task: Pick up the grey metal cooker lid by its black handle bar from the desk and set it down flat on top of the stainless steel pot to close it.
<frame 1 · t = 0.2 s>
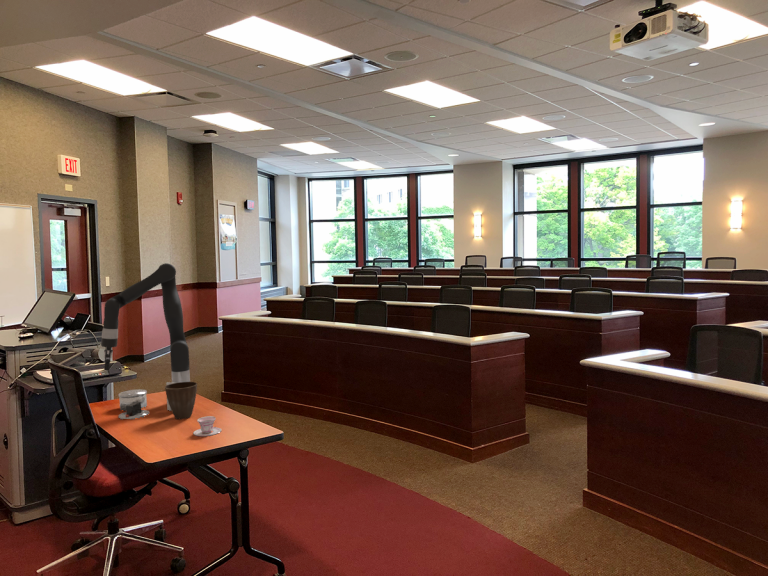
hand: (107, 368, 296), 22 cm above the table, tool pointing down, fingers open, 8 cm apart
ink cartridge box: (177, 410, 295), on the table
cooker pot: (133, 407, 302), on the table
teacup: (207, 433, 256), on the table
cooker lid: (134, 416, 287), on the table
plant pot: (182, 417, 281), on the table
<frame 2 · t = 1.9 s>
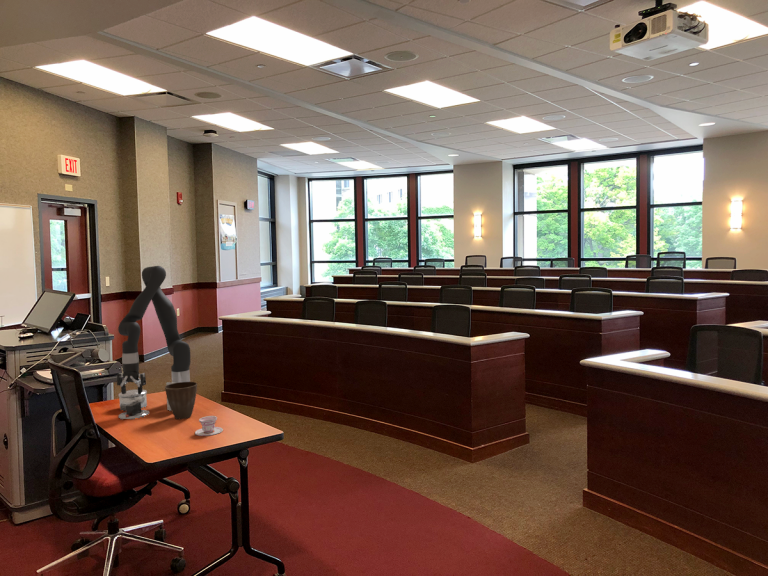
hand: (131, 393, 286), 11 cm above the table, tool pointing down, fingers open, 8 cm apart
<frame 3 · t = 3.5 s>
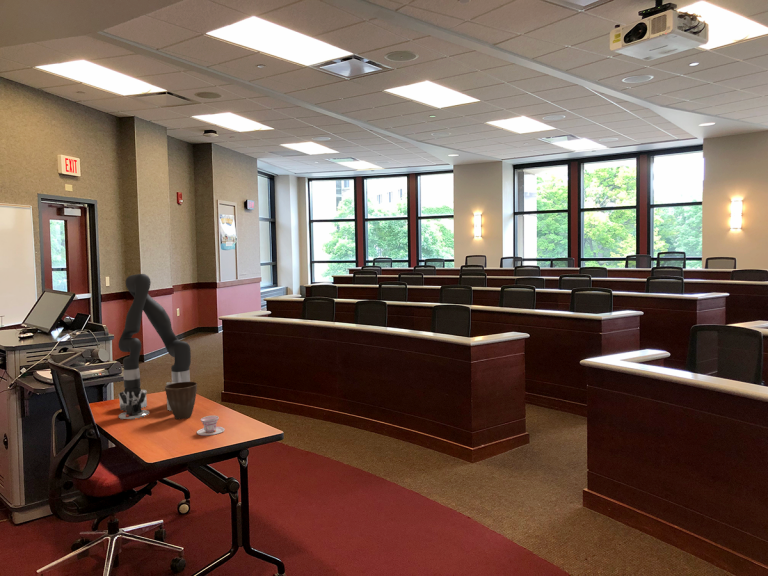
hand: (133, 411, 287), 2 cm above the table, tool pointing down, fingers closed on cooker lid, 3 cm apart
cooker lid: (134, 416, 287), on the table, touching gripper
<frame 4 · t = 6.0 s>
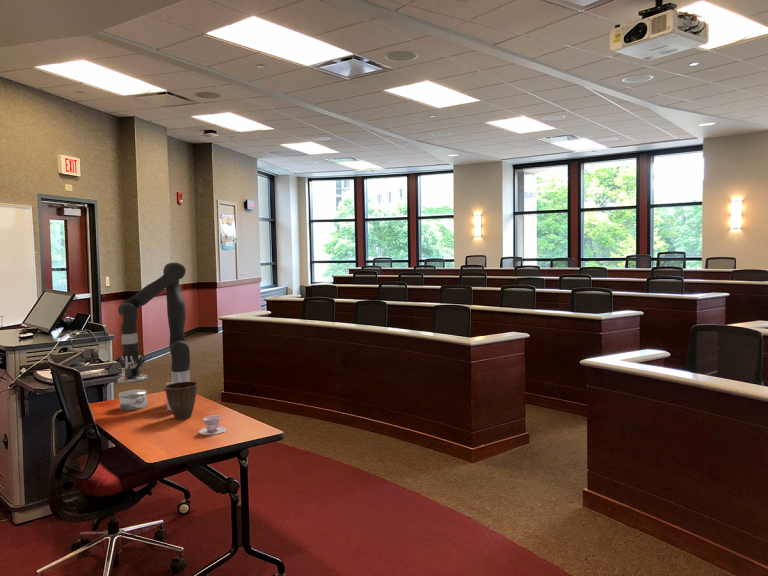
hand: (132, 375, 292), 19 cm above the table, tool pointing down, fingers closed on cooker lid, 3 cm apart
cooker lid: (132, 379, 292), point 17 cm above the table, touching gripper
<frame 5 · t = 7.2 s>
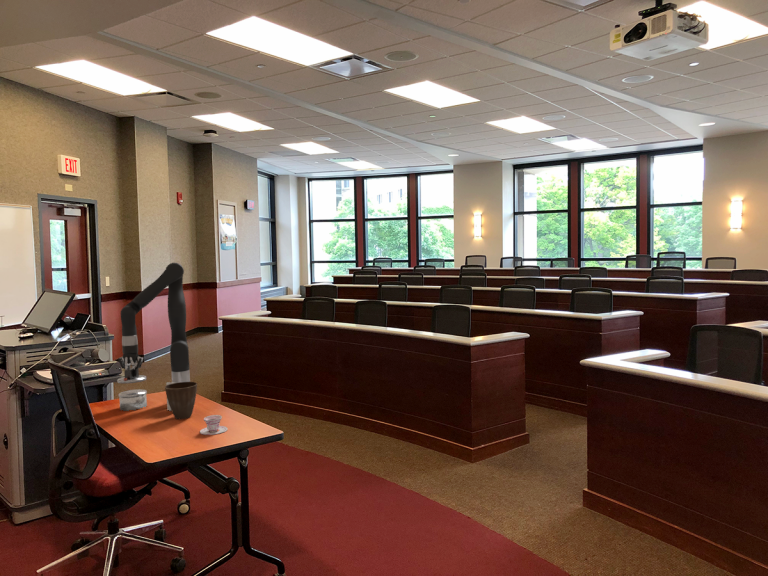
hand: (131, 376, 301), 17 cm above the table, tool pointing down, fingers closed on cooker lid, 3 cm apart
cooker lid: (132, 380, 301), point 14 cm above the table, touching gripper
when the fingers open (11 cm above the table, at t = 8.3 s): cooker lid drops 1 cm, resting on cooker pot.
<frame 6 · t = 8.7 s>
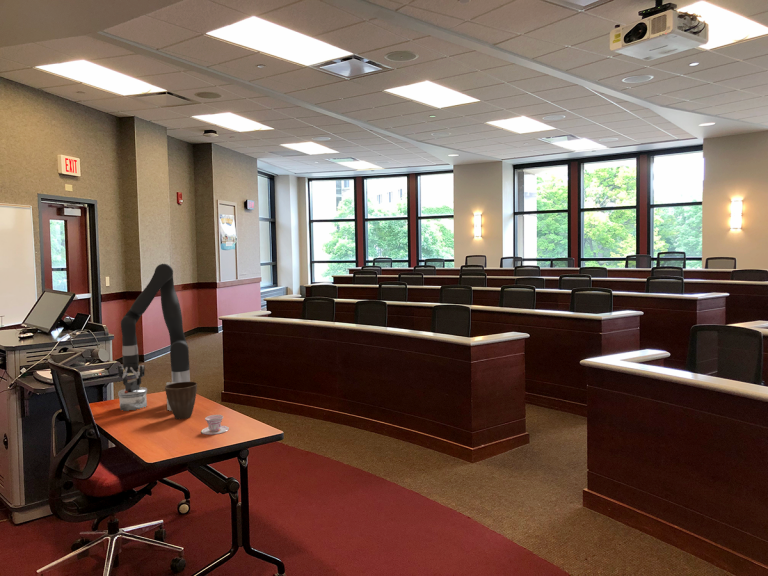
hand: (132, 384, 301), 12 cm above the table, tool pointing down, fingers open, 6 cm apart
cooker lid: (132, 392, 302), point 8 cm above the table, touching cooker pot
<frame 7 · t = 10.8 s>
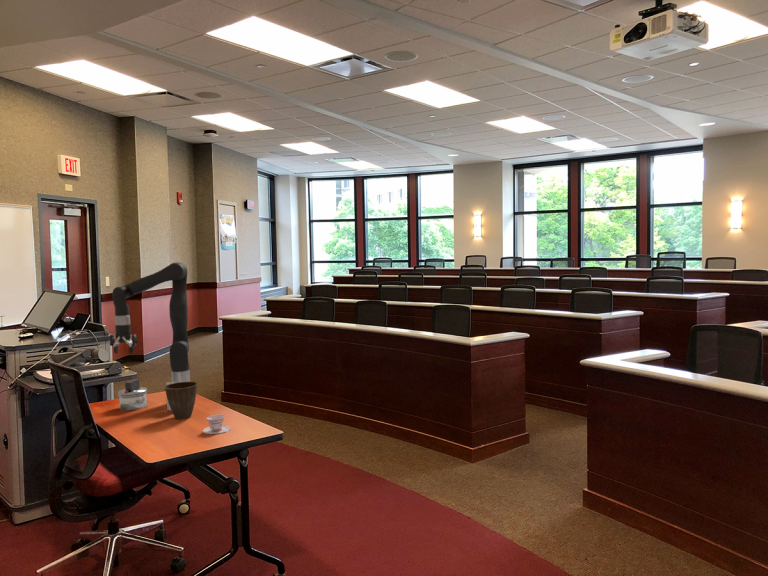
hand: (124, 353, 308), 27 cm above the table, tool pointing down, fingers open, 8 cm apart
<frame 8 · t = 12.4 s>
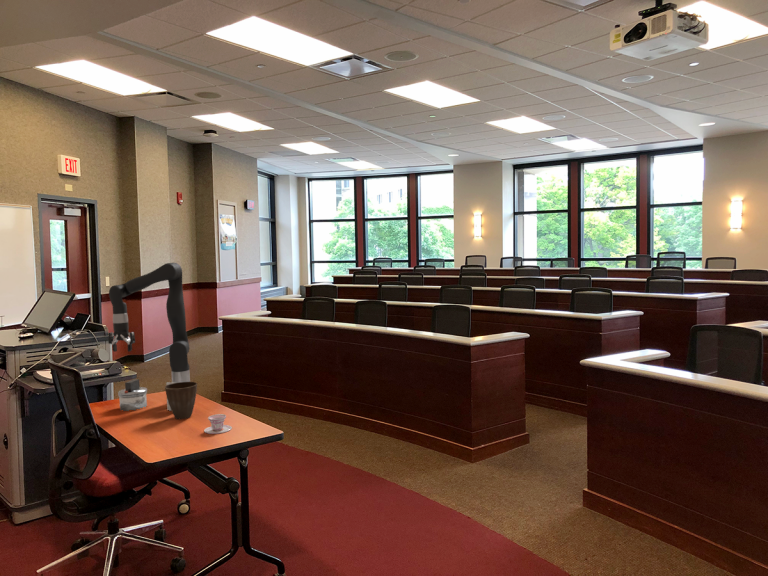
hand: (122, 351, 312), 28 cm above the table, tool pointing down, fingers open, 8 cm apart
at the end: cooker lid 0.1 cm off-centre on the cooker pot, point 8.0 cm above the cooker pot's base; cooker lid tilted 0°; the gripper is holding nothing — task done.
